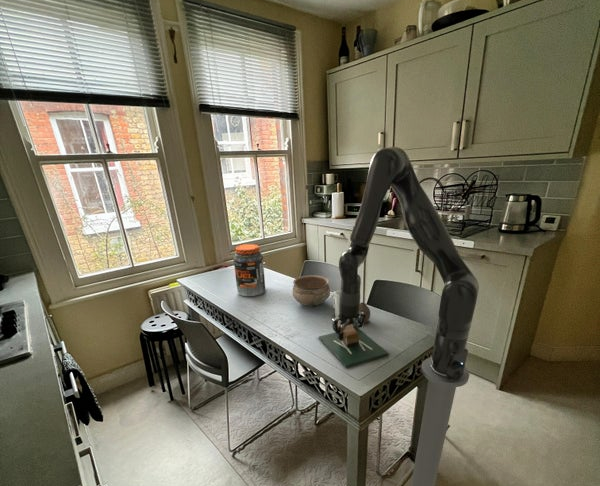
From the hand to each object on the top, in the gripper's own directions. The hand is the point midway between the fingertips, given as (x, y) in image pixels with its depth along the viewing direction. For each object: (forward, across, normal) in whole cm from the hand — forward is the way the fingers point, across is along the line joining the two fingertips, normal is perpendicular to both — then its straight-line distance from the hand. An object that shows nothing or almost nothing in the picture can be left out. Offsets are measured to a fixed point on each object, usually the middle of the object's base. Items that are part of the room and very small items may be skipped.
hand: (347, 337), depth 125 cm
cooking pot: (+5, +1, +40) cm, 40 cm away
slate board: (+2, 0, -3) cm, 4 cm away
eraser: (+1, 0, 0) cm, 1 cm away
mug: (+4, +8, +23) cm, 25 cm away
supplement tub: (+7, -23, +69) cm, 73 cm away
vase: (+4, +15, +13) cm, 20 cm away
